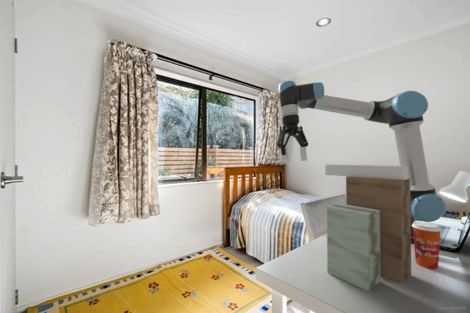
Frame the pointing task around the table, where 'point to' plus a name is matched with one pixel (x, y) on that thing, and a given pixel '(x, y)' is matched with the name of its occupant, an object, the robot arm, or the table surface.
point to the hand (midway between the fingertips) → (295, 161)
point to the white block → (368, 171)
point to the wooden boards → (370, 232)
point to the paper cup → (426, 243)
